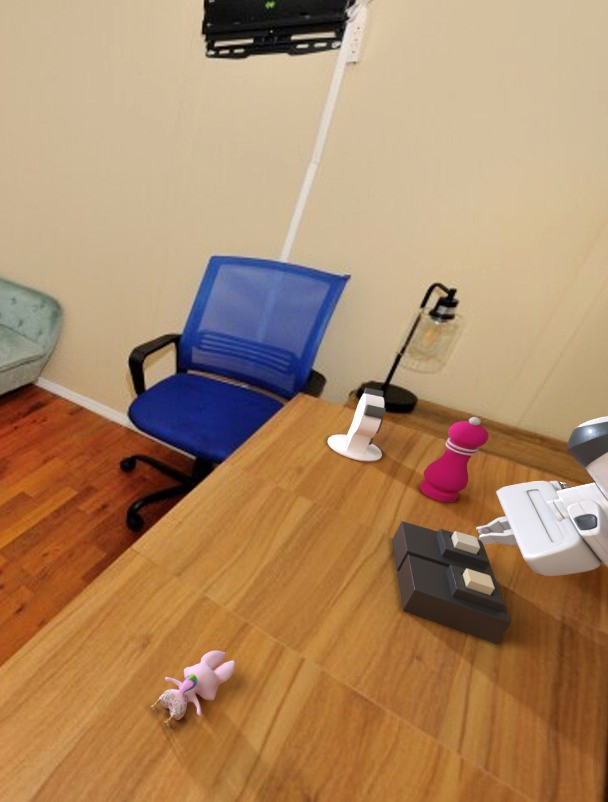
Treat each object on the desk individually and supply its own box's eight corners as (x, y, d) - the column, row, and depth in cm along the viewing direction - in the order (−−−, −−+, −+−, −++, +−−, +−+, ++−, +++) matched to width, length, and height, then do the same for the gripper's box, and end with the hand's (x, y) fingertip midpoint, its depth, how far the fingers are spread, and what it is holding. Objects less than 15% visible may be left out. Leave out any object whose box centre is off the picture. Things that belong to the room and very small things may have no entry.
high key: (485, 583, 84) (490, 575, 83) (490, 596, 82) (495, 588, 81) (461, 575, 85) (466, 568, 84) (465, 588, 83) (470, 580, 82)
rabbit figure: (176, 743, 70) (247, 680, 76) (179, 723, 67) (252, 658, 72) (142, 703, 75) (211, 646, 80) (143, 683, 72) (215, 625, 77)
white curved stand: (383, 468, 121) (407, 415, 114) (327, 453, 127) (346, 402, 120) (380, 443, 130) (402, 393, 123) (328, 431, 136) (346, 382, 129)
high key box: (483, 603, 88) (502, 575, 85) (496, 644, 81) (517, 615, 78) (397, 574, 94) (411, 547, 90) (402, 610, 87) (418, 582, 84)
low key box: (470, 564, 95) (487, 537, 92) (481, 599, 89) (500, 571, 85) (391, 540, 101) (405, 513, 98) (396, 570, 94) (411, 543, 91)
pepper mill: (419, 478, 118) (455, 405, 108) (460, 493, 113) (502, 417, 104) (414, 493, 113) (451, 417, 104) (456, 508, 109) (499, 431, 99)
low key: (472, 544, 91) (476, 537, 90) (475, 555, 89) (480, 548, 88) (450, 537, 93) (454, 530, 92) (453, 548, 90) (458, 541, 90)
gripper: (555, 464, 88) (457, 489, 97) (601, 539, 73) (480, 560, 82) (578, 493, 88) (478, 515, 97) (629, 574, 73) (504, 591, 82)
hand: (479, 536), depth 89 cm, fingers closed
